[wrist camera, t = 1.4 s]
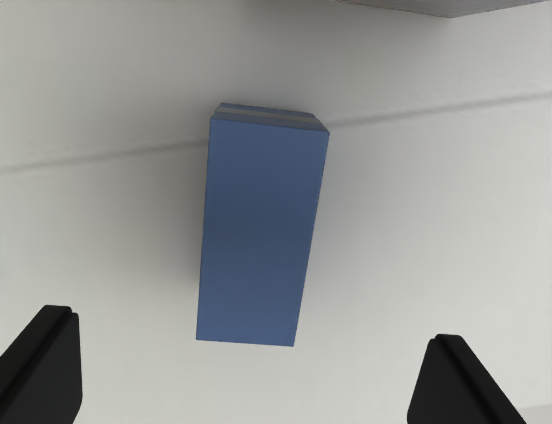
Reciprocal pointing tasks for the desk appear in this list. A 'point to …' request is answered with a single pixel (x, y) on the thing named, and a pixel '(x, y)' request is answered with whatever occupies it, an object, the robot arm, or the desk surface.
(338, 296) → the desk surface
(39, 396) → the robot arm
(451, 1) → the walnut crate
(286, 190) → the block
